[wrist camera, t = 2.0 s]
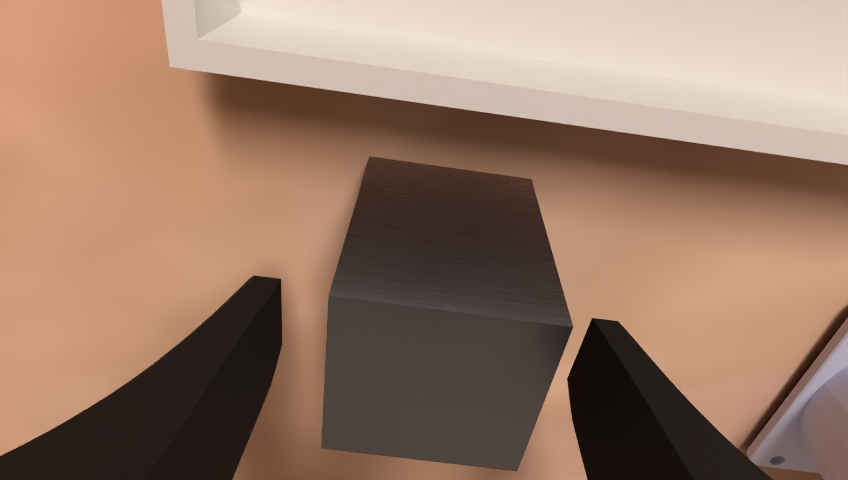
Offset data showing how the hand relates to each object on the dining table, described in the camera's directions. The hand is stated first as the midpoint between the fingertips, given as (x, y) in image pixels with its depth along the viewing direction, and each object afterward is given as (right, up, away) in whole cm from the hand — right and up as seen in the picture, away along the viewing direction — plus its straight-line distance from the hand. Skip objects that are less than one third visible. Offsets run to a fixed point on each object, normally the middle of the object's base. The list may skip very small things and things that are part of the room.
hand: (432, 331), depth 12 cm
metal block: (0, +2, +3) cm, 4 cm away
